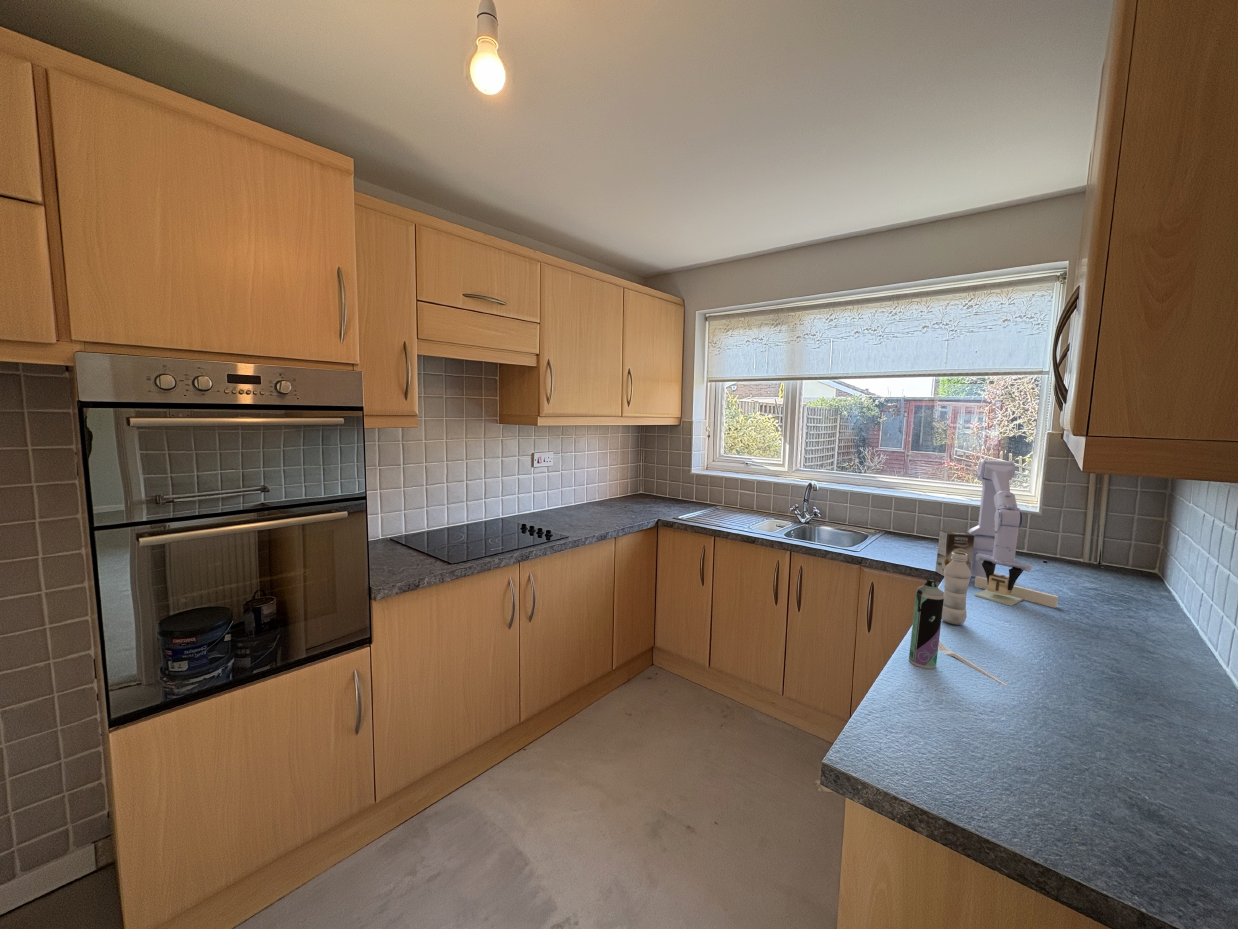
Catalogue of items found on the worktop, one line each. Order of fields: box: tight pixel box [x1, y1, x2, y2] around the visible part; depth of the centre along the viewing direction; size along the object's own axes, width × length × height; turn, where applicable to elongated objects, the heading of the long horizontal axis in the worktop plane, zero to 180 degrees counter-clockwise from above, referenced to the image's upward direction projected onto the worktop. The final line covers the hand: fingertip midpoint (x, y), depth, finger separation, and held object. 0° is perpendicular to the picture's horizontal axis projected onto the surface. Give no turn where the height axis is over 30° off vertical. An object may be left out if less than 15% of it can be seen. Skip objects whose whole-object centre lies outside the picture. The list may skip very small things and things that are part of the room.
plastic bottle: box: [941, 552, 972, 626], centre depth 142 cm, size 6×7×20 cm
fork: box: [938, 640, 1009, 687], centre depth 119 cm, size 3×20×2 cm, turn 12°
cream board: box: [974, 576, 1059, 609], centre depth 168 cm, size 2×22×4 cm, turn 36°
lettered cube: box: [988, 572, 1012, 595], centre depth 165 cm, size 5×5×5 cm
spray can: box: [908, 579, 944, 670], centre depth 117 cm, size 6×6×20 cm
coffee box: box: [934, 529, 974, 577], centre depth 188 cm, size 9×6×16 cm
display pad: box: [974, 589, 1023, 607], centre depth 165 cm, size 10×10×1 cm
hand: (999, 587), depth 165 cm, fingers closed on lettered cube, 5 cm apart
